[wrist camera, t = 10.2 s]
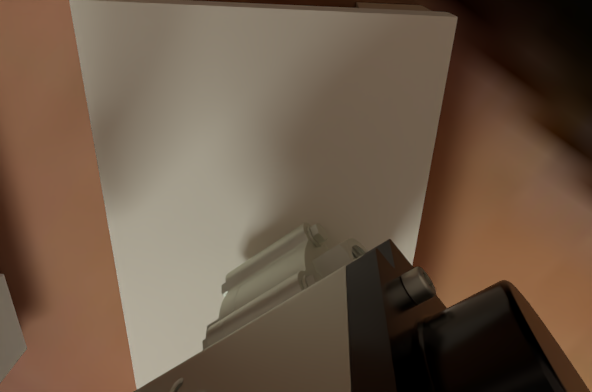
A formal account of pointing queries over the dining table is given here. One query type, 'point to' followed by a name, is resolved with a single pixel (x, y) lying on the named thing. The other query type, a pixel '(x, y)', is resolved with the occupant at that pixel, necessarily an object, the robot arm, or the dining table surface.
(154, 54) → the stand cream
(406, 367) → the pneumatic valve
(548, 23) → the dining table surface
